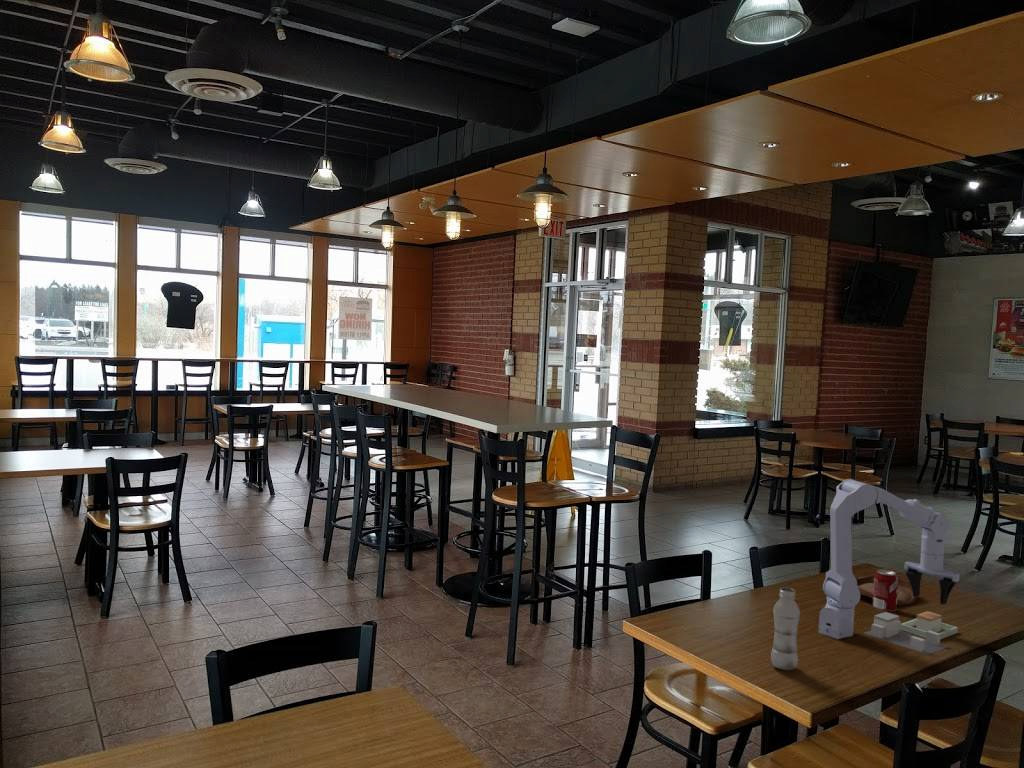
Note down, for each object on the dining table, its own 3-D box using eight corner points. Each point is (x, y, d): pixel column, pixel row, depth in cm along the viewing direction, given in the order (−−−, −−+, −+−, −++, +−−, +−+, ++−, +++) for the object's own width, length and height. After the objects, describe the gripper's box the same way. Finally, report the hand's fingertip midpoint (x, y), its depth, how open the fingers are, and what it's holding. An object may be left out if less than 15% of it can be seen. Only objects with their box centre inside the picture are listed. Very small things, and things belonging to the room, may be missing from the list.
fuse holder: (927, 657, 200) (928, 643, 200) (863, 635, 215) (863, 622, 215) (948, 649, 206) (949, 635, 206) (884, 628, 221) (884, 615, 221)
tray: (936, 643, 210) (936, 635, 210) (899, 631, 219) (900, 624, 219) (957, 635, 217) (957, 627, 217) (921, 624, 226) (921, 616, 226)
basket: (898, 612, 236) (899, 597, 236) (835, 595, 251) (835, 580, 251) (925, 598, 251) (926, 583, 251) (864, 583, 266) (865, 569, 266)
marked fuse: (930, 636, 214) (931, 619, 214) (915, 631, 218) (916, 614, 217) (940, 632, 218) (941, 615, 218) (926, 627, 221) (927, 611, 221)
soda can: (883, 614, 234) (885, 575, 233) (867, 606, 240) (869, 569, 240) (901, 612, 236) (903, 574, 235) (885, 605, 242) (887, 568, 241)
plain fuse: (886, 637, 212) (887, 619, 211) (873, 632, 215) (874, 615, 215) (898, 633, 215) (899, 616, 215) (884, 628, 218) (885, 611, 218)
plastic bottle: (790, 662, 194) (794, 585, 193) (802, 674, 187) (805, 594, 186) (766, 662, 194) (769, 585, 193) (776, 673, 187) (780, 594, 186)
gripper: (965, 557, 213) (962, 604, 214) (914, 545, 225) (911, 590, 226) (953, 560, 209) (950, 609, 210) (901, 548, 221) (899, 594, 222)
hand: (929, 599), depth 218 cm, fingers open, 7 cm apart
